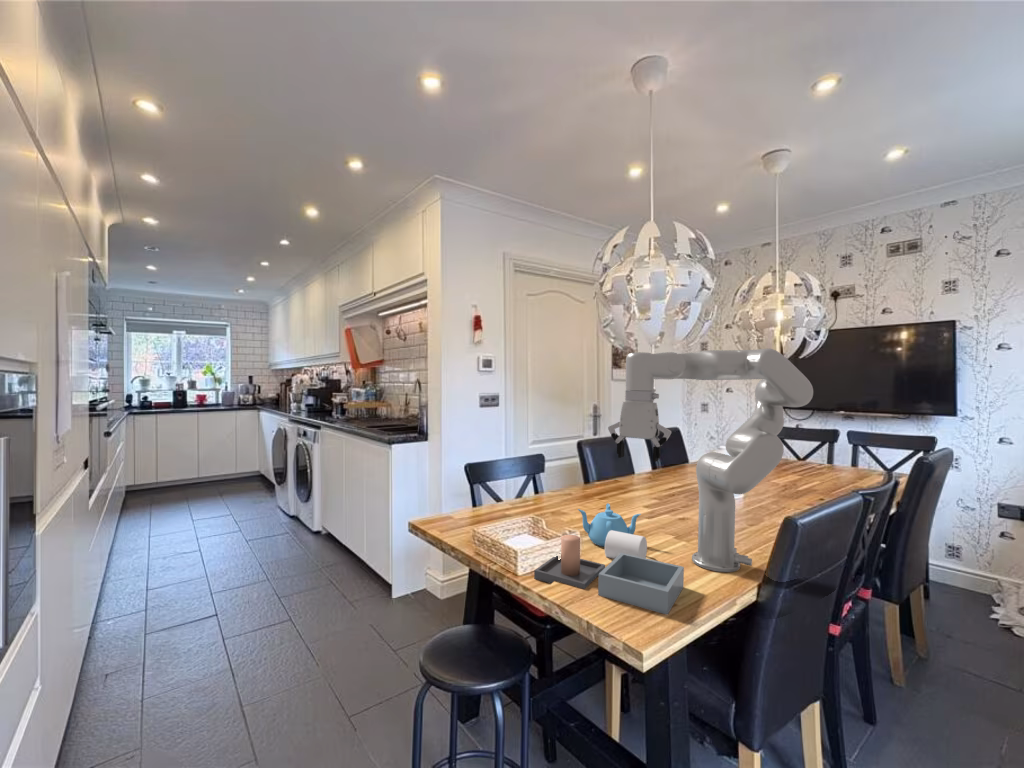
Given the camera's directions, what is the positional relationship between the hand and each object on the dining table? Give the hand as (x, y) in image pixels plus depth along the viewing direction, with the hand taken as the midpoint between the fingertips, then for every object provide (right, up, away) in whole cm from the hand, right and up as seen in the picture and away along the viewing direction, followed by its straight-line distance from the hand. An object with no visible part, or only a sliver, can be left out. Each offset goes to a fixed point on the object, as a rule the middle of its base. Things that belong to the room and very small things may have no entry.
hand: (638, 459), depth 126 cm
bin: (-3, -30, -16) cm, 34 cm away
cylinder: (-19, -29, -5) cm, 35 cm away
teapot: (-4, -30, +21) cm, 37 cm away
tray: (-19, -30, -5) cm, 36 cm away
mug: (-1, -31, +7) cm, 31 cm away
